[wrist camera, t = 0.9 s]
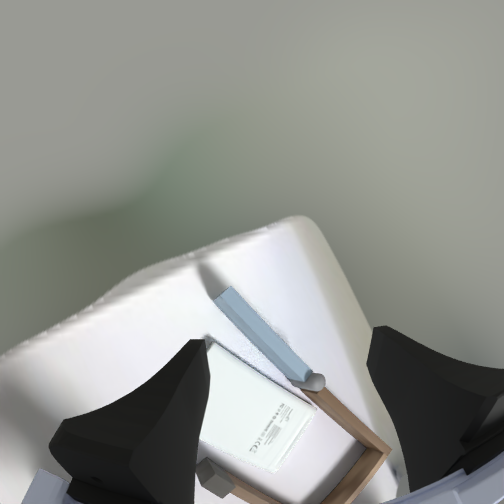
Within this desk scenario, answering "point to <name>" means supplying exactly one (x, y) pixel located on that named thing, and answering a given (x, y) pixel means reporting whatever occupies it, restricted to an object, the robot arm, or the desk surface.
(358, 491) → the bay
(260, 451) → the external hard drive
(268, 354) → the gate
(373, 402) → the desk surface
